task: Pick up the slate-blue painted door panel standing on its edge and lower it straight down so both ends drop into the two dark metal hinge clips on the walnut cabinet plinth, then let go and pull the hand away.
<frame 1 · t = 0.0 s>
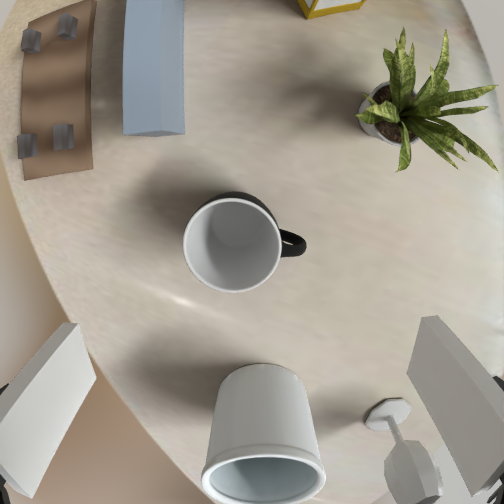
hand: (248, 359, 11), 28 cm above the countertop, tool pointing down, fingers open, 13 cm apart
wineglass: (387, 412, 49), on the countertop
mug: (249, 223, 38), on the countertop
door panel: (168, 56, 32), on the countertop
house plant: (387, 119, 34), on the countertop
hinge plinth: (56, 87, 32), on the countertop
utensil holder: (261, 393, 47), on the countertop
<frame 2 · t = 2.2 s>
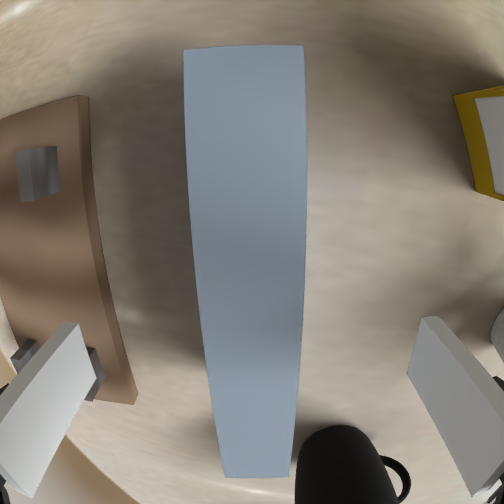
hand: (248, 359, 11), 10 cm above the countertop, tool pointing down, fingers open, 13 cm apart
soap bottle: (472, 141, 18), on the countertop
mug: (345, 442, 28), on the countertop
door panel: (253, 251, 21), on the countertop
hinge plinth: (48, 268, 21), on the countertop
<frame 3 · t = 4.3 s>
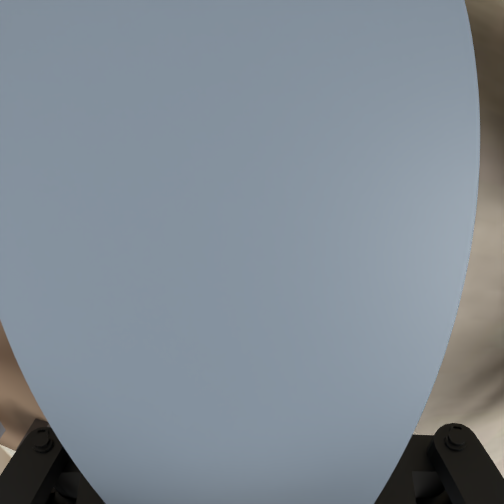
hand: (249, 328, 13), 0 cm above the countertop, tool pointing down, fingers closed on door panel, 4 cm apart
door panel: (249, 320, 13), on the countertop, touching gripper
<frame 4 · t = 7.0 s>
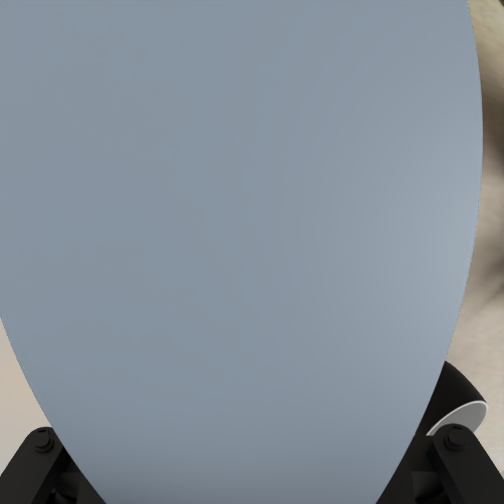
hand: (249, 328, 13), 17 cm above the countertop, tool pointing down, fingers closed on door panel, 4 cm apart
mug: (432, 376, 35), on the countertop
door panel: (250, 322, 13), point 16 cm above the countertop, touching gripper
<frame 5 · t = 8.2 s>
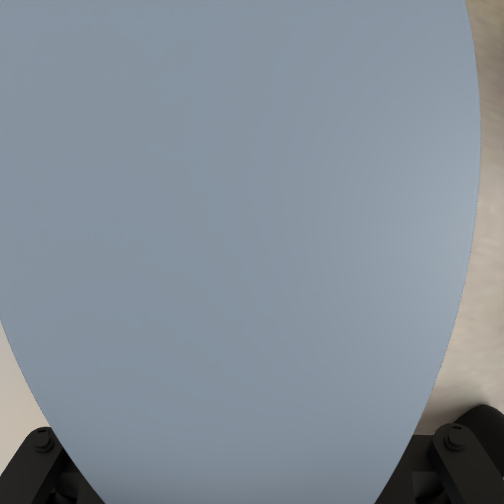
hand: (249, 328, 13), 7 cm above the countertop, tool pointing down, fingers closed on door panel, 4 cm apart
mug: (476, 422, 26), on the countertop
door panel: (249, 322, 13), point 6 cm above the countertop, touching gripper
when the fingers open (3 cm above the countertop, at t = 9.5 s): door panel drops 1 cm, resting on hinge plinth.
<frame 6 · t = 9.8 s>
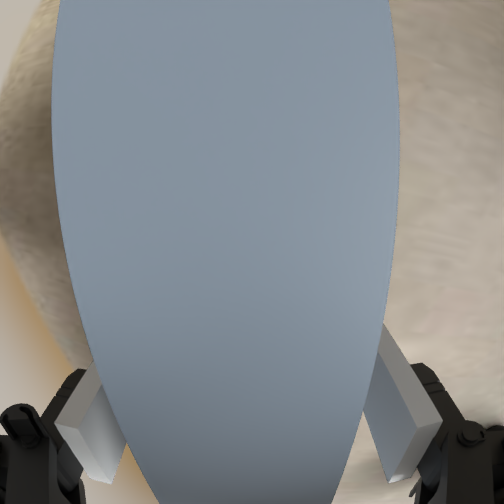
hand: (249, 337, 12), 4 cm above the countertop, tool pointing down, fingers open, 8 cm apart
door panel: (249, 307, 15), point 1 cm above the countertop, touching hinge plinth
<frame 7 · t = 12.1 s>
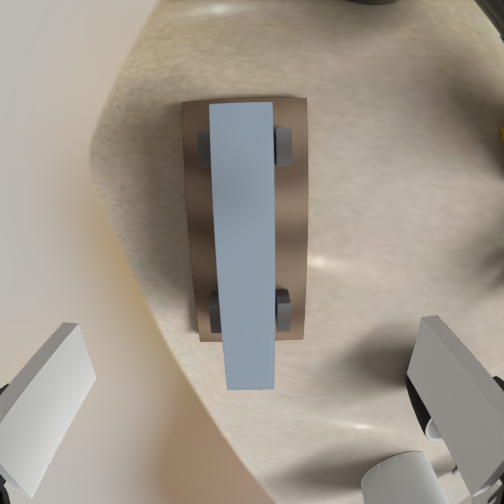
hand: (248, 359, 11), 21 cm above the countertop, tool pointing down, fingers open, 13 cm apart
wineglass: (468, 462, 48), on the countertop
mug: (433, 366, 37), on the countertop
door panel: (247, 229, 29), point 1 cm above the countertop, touching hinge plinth
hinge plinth: (248, 226, 31), on the countertop
utensil holder: (393, 470, 46), on the countertop
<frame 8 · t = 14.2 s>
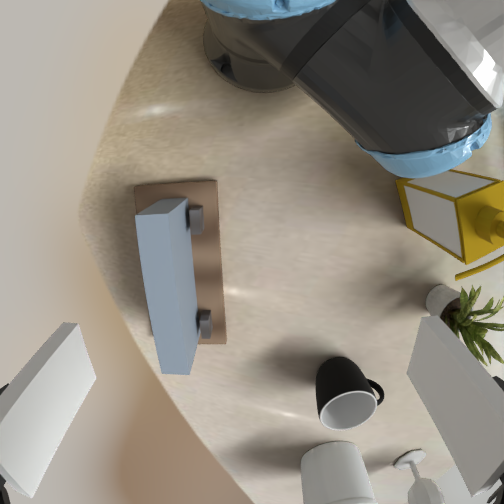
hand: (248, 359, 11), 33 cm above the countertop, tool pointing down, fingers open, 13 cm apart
wineglass: (409, 457, 62), on the countertop
soap bottle: (405, 202, 42), on the countertop
mug: (343, 370, 51), on the countertop
door panel: (181, 270, 44), point 1 cm above the countertop, touching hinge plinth
house plant: (443, 298, 47), on the countertop
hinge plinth: (183, 267, 45), on the countertop
utensil holder: (329, 456, 60), on the countertop
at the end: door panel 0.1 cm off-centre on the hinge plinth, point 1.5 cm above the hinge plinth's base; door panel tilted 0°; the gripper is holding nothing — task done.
